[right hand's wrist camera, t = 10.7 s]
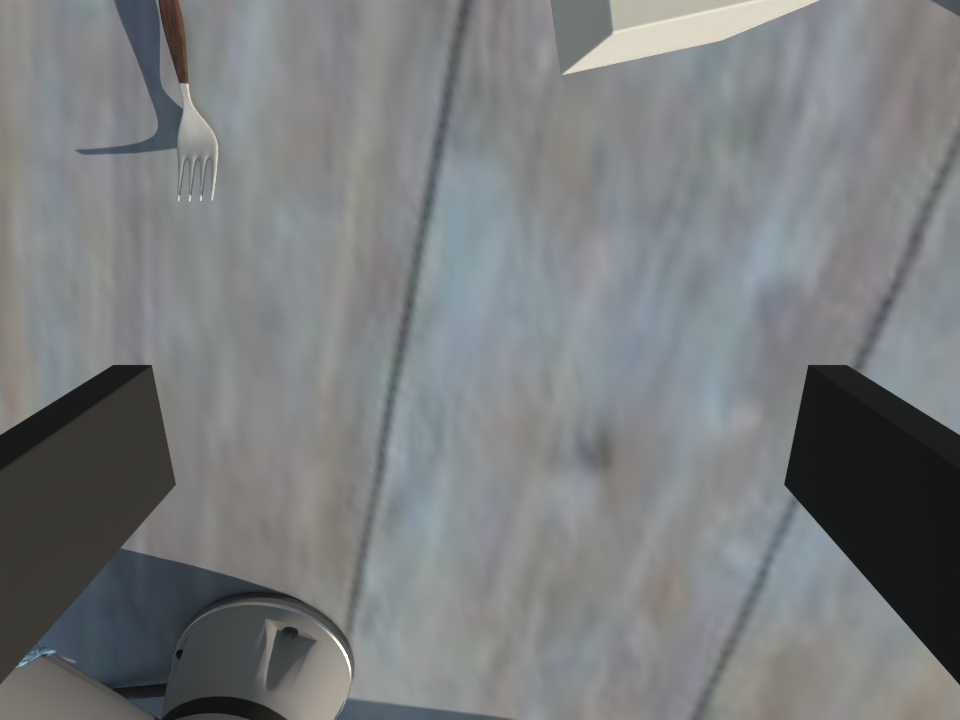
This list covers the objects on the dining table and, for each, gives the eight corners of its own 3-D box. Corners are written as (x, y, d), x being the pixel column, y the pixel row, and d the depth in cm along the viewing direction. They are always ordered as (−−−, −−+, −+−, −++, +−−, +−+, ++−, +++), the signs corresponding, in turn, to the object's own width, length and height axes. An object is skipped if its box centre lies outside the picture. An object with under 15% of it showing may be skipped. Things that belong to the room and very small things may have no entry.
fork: (178, -93, 34) (161, -107, 32) (227, 197, 40) (215, 200, 38) (132, -92, 34) (112, -105, 32) (188, 199, 40) (173, 202, 38)
